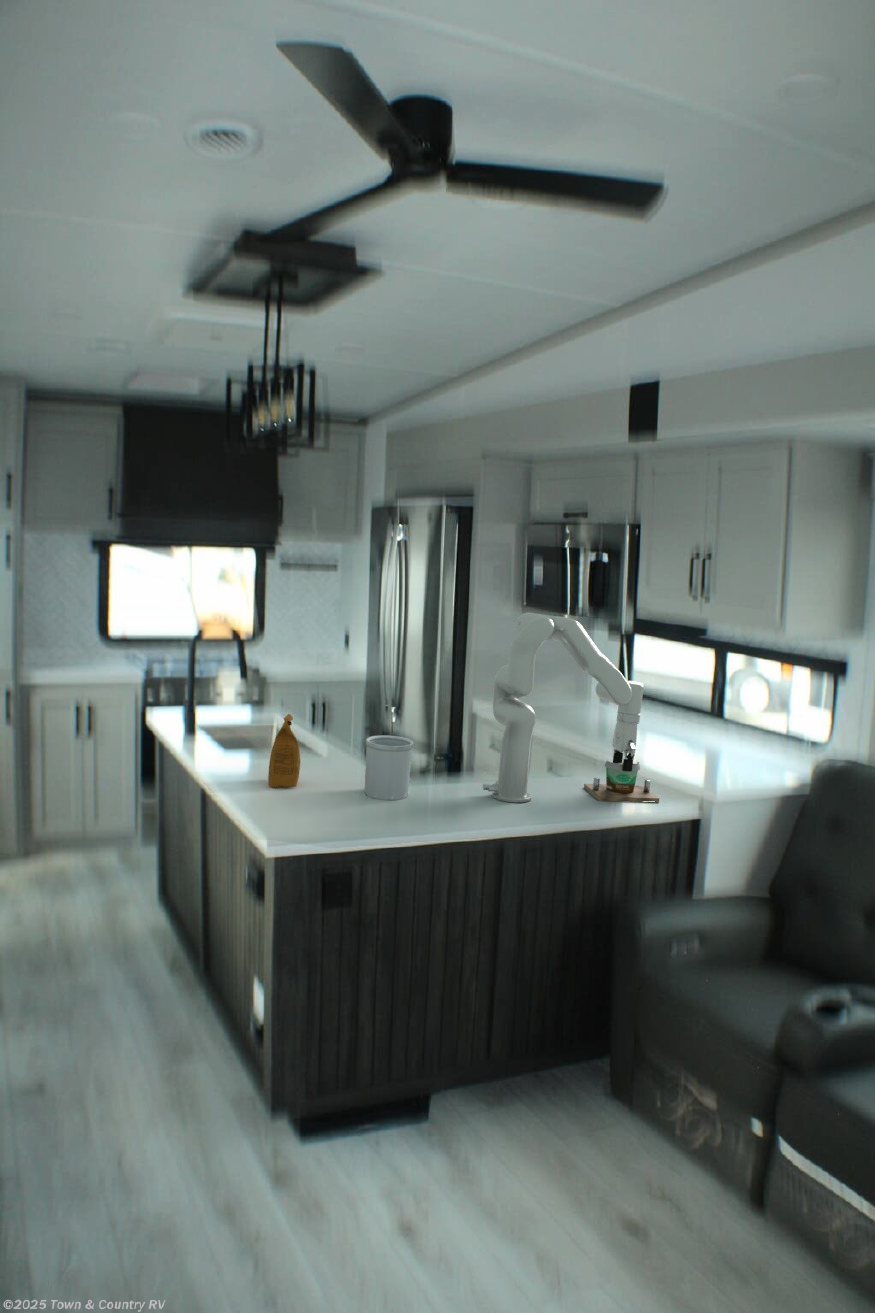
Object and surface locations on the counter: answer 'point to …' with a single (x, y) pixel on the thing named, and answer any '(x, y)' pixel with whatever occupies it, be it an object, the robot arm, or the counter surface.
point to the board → (605, 795)
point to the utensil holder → (387, 767)
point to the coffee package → (284, 758)
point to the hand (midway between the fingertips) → (621, 767)
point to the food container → (620, 778)
